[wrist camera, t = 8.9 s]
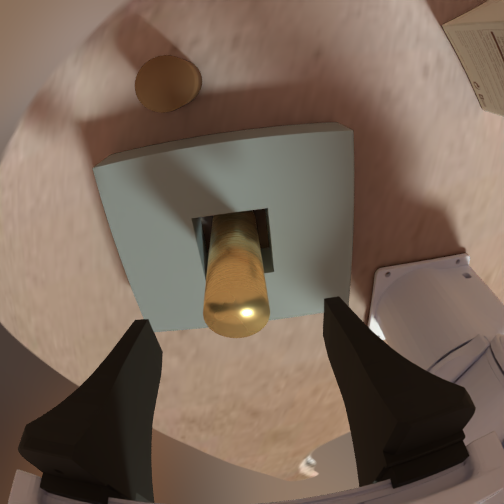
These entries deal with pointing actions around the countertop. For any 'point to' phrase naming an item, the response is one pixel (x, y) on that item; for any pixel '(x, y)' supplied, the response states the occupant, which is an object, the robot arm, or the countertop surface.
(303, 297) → the hole plate
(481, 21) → the supplement box
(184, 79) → the short pin
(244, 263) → the long pin
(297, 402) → the countertop surface
